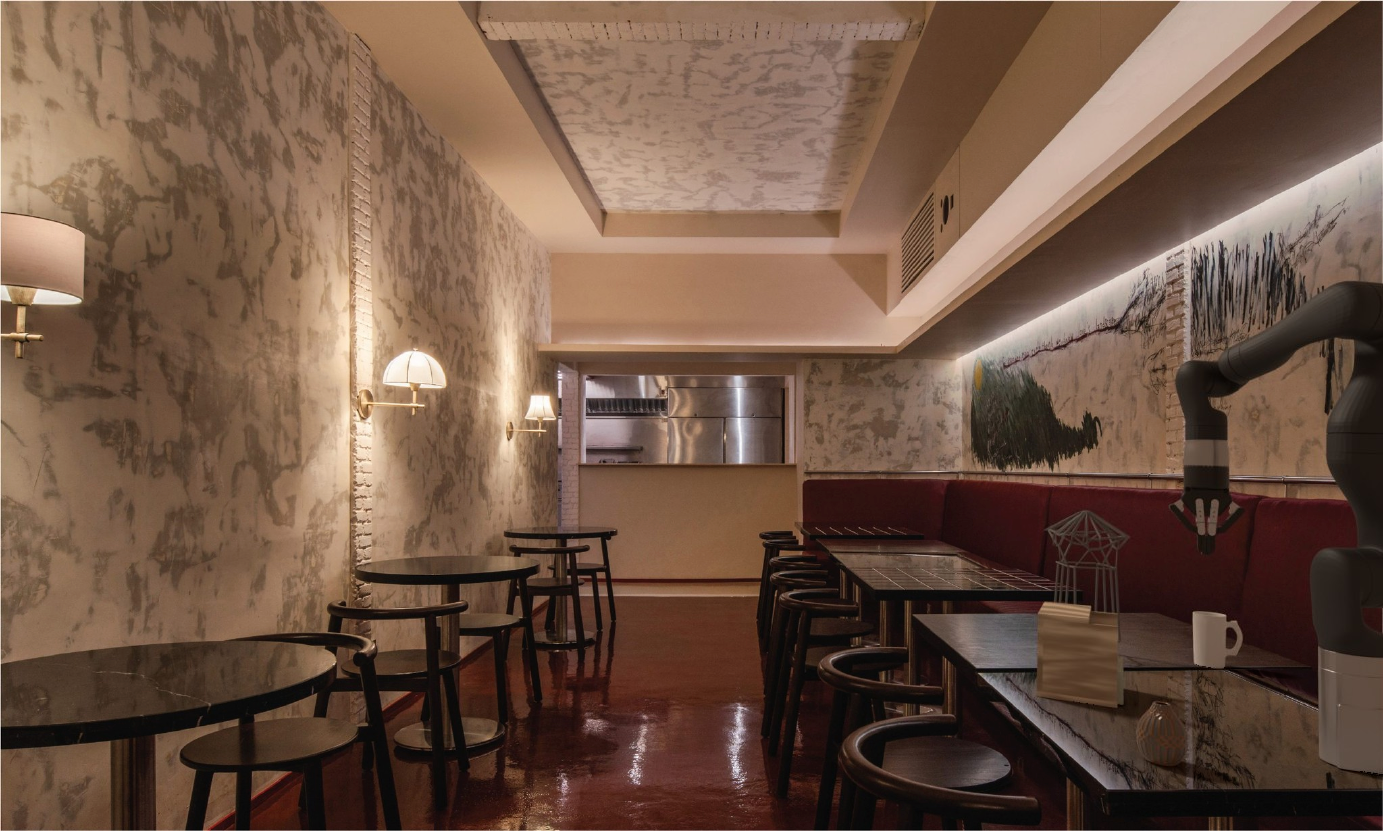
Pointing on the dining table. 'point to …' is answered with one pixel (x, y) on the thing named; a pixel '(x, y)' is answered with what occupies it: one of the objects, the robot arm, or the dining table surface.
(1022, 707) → the dining table surface
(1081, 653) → the housing
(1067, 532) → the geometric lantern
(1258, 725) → the dining table surface
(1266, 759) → the dining table surface
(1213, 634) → the mug
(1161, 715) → the vase
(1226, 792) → the dining table surface
